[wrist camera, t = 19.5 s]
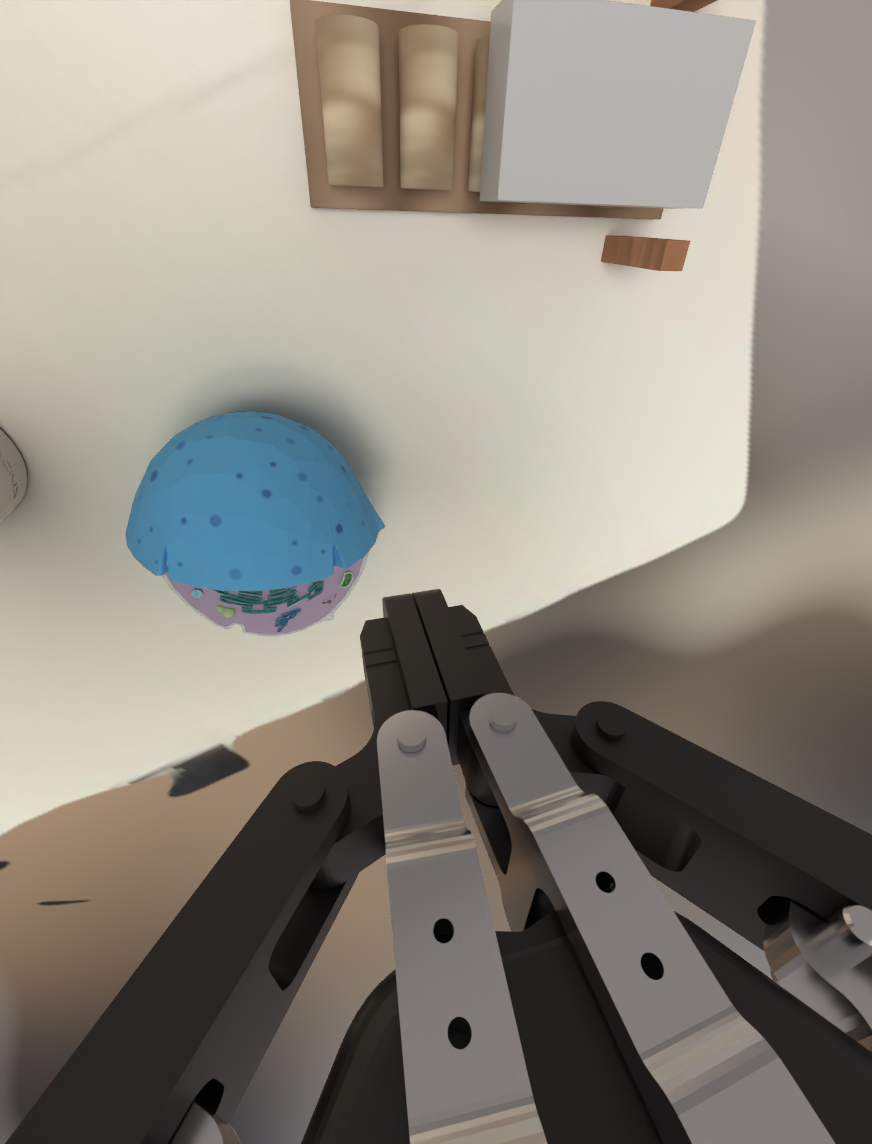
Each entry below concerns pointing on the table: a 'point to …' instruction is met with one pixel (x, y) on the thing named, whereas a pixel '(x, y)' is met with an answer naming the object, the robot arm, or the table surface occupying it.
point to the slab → (607, 102)
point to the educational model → (253, 522)
